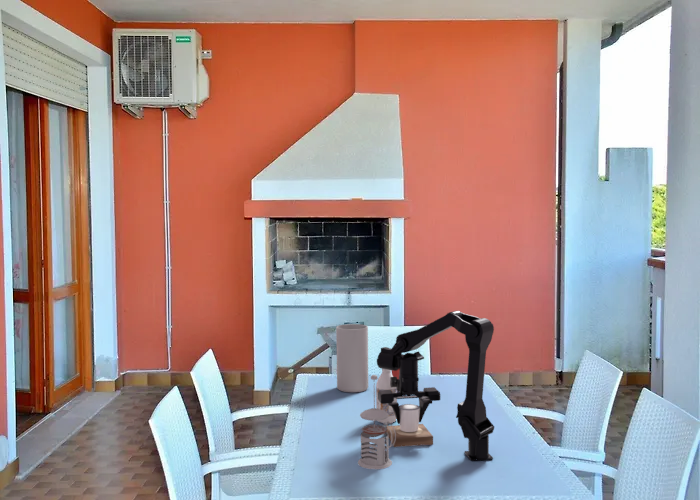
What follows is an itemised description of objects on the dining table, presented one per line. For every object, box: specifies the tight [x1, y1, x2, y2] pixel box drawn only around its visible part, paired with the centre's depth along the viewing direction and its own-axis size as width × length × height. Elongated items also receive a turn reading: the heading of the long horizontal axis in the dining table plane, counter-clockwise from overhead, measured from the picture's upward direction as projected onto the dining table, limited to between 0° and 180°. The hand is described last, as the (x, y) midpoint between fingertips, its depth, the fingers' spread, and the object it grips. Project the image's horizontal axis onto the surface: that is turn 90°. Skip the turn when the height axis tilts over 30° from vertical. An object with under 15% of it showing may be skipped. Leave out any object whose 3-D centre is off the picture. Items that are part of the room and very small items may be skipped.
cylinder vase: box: [335, 323, 369, 393], centre depth 263 cm, size 12×12×25 cm
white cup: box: [399, 403, 420, 432], centre depth 204 cm, size 7×7×7 cm
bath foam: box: [375, 369, 398, 424], centre depth 222 cm, size 7×7×20 cm
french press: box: [357, 374, 396, 470], centre depth 184 cm, size 10×12×25 cm
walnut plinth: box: [386, 423, 434, 448], centre depth 205 cm, size 12×12×3 cm
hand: (409, 422), depth 204 cm, fingers open, 6 cm apart
